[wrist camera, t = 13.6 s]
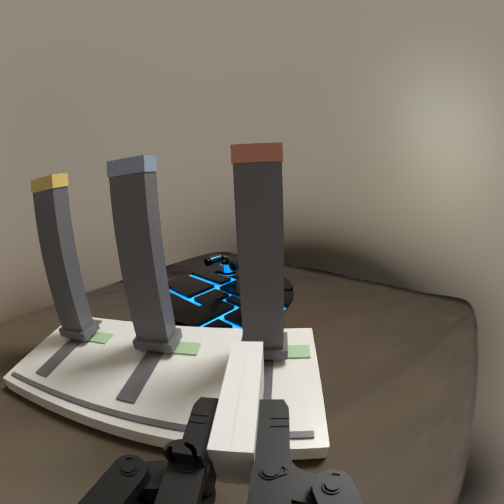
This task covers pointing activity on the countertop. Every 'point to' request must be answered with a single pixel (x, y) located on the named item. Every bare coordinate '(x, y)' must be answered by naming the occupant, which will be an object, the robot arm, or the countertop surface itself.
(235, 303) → the platform
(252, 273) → the salmon tipped gray lever
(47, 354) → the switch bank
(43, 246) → the mustard paddle
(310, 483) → the robot arm
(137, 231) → the slate paddle
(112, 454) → the countertop surface
